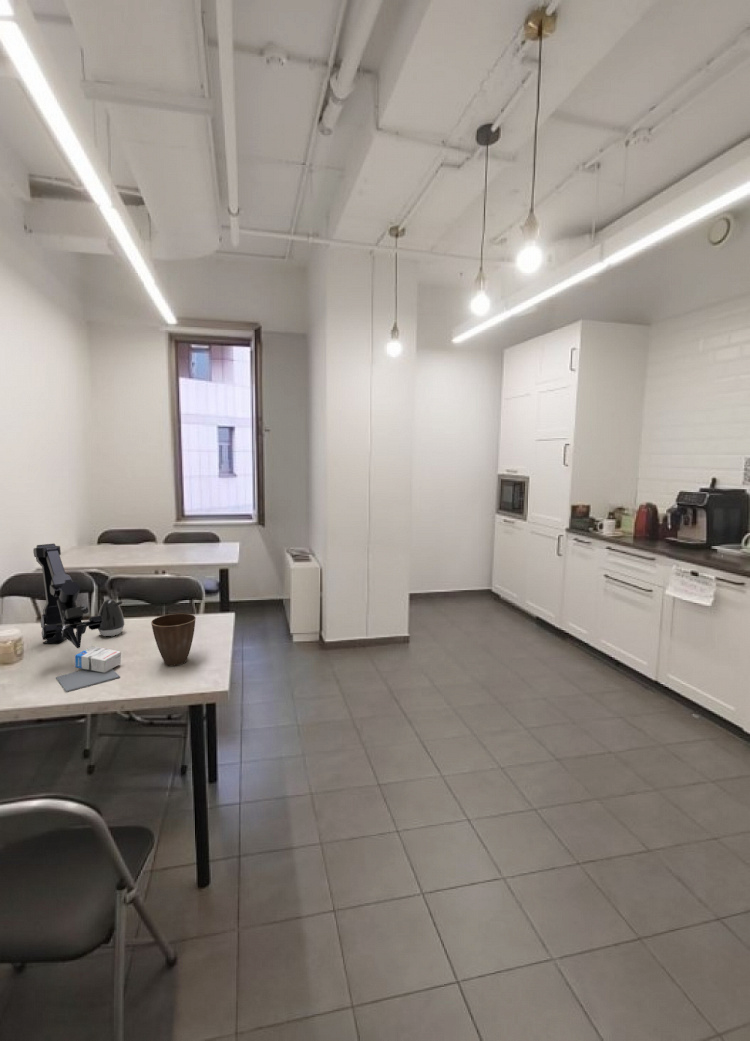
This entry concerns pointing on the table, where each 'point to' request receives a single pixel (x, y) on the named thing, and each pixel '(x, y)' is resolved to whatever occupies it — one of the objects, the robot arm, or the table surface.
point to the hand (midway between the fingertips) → (78, 647)
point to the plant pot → (174, 637)
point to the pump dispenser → (111, 618)
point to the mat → (85, 679)
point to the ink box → (98, 659)
